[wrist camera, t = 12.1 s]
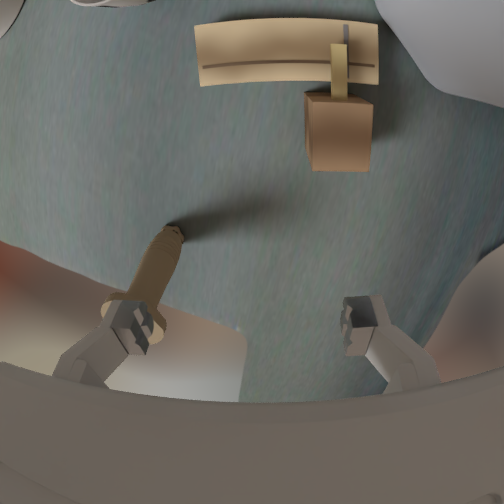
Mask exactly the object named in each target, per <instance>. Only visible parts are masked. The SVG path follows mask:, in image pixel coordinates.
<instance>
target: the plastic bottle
mask: <svg viewBox="0 0 504 504" xmlns="http://www.w3.org/2000/svg"><path fill="white" fill-rule="evenodd" d="M375 4H376V7H377V9H378V11H379V13H380V15H381V17H382V18H383V19H384V21H385V22H386V23H387V24H388V26H389V27H390V28H391V30H392V31H393V32H394V34H395V35H396V36H397V38H398V39H399V40H400V42H401V43H402V44H403V46H404V47H405V49H406V50H407V51H408V53H409V54H410V56H411V57H412V59H413V60H414V62H415V63H416V65H417V66H418V68H419V69H420V71H421V72H422V74H423V75H424V77H425V78H426V79H427V81H428V82H429V83H431V84H432V85H433V86H434V87H435V88H437V89H438V90H440V91H442V92H445V93H448V94H452V95H457V96H461V97H465V98H469V99H473V100H477V101H481V102H485V103H488V104H492V105H495V106H498V107H502V108H504V0H375Z"/></svg>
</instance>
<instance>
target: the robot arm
mask: <svg viewBox="0 0 504 504" xmlns="http://www.w3.org/2000/svg"><path fill="white" fill-rule="evenodd" d="M23 1H24V0H0V38H1V37H2V36H3V35H4V34H5V33H6V31H7V30H8V29H9V27H10V26H11V25H12V23H13V21H14V20H15V18H16V16H17V14H18V13H19V11H20V8H21V6H22V4H23ZM147 308H148V306H147V304H146V302H144V301H131V300H113V301H112V302H111V303H110V305H109V307H108V310H107V312H106V314H105V316H104V318H103V320H102V322H101V324H100V327H96V328H95V329H94V330H92V331H91V332H90V333H89V334H87V335H86V336H85V337H84V338H82V339H81V340H80V341H78V342H77V343H76V344H74V345H73V346H72V347H71V348H70V349H68V350H67V351H66V352H65V353H63V354H62V355H61V357H60V359H59V361H58V364H57V366H56V368H55V370H54V372H53V375H52V376H49V375H45V374H41V373H38V372H35V371H31V370H28V369H25V368H22V367H18V366H15V365H12V364H10V363H6V362H3V361H2V362H0V504H504V366H503V367H499V368H496V369H493V370H490V371H486V372H483V373H480V374H476V375H473V376H469V377H465V378H461V379H457V380H453V381H449V382H445V383H441V380H440V377H439V373H438V370H437V367H436V364H435V361H434V358H433V357H432V356H431V355H429V354H428V353H427V352H426V351H425V350H424V349H423V348H421V347H420V346H419V345H418V344H417V343H415V342H414V341H413V340H412V339H411V338H410V337H408V336H407V335H406V334H405V333H404V332H403V331H401V330H400V329H399V328H398V327H397V326H395V325H391V322H390V319H389V316H388V313H387V310H386V307H385V304H384V301H383V298H382V296H381V295H369V296H355V297H345V298H344V300H343V308H344V310H343V311H342V312H341V317H340V326H341V333H342V335H343V336H344V341H343V345H344V351H345V356H356V355H365V356H366V357H367V358H368V359H369V361H370V362H371V363H372V364H373V365H374V366H375V368H376V369H377V370H378V371H379V372H380V373H381V375H382V376H383V377H384V378H385V379H386V380H387V382H388V383H389V384H388V386H387V387H386V389H385V391H384V392H383V394H380V395H372V396H364V397H356V398H346V399H335V400H323V401H306V402H278V403H246V402H216V401H200V400H187V399H176V398H167V397H158V396H150V395H143V394H136V393H129V392H123V391H117V390H111V389H109V387H108V386H107V385H106V384H105V383H104V381H105V380H106V379H107V378H108V377H109V376H110V375H111V373H113V372H114V370H115V369H116V368H117V367H118V366H119V365H120V364H121V363H122V362H123V361H124V360H125V359H126V358H127V356H128V354H131V355H146V352H147V349H148V346H149V341H148V338H149V337H150V336H151V335H152V333H153V330H154V321H153V317H152V315H151V314H150V313H149V312H148V311H147Z"/></svg>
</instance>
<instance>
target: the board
mask: <svg viewBox="0 0 504 504" xmlns="http://www.w3.org/2000/svg"><path fill="white" fill-rule="evenodd" d="M194 29H195V39H196V49H197V59H198V69H199V78H200V87H201V86H209V85H219V84H230V83H242V82H259V81H331V62H330V44H346V45H347V82H351V83H363V84H374V85H378V77H379V56H378V24H371V23H363V22H355V21H345V20H333V19H315V18H267V19H249V20H237V21H227V22H218V23H210V24H203V25H197V26H194Z"/></svg>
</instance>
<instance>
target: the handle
mask: <svg viewBox="0 0 504 504" xmlns="http://www.w3.org/2000/svg"><path fill="white" fill-rule="evenodd" d="M183 241H184V235H182V234H181V232H180V229H179V228H178V227H177V226H174V227H171V226H168V225H166V226H164V227H163V228H162V229H161V232H160V233H158V234H157V235H156V236H155V238H154V239H153V240H152V241H151V243H150V244H149V246H148V247H147V249H146V251H145V253H144V255H143V257H142V259H141V262H140V264H139V266H138V269H137V271H136V274H135V276H134V278H133V281H132V283H131V285H130V287H129V290H128V292H127V293H126V294H125V293H119V292H115V293H112V294H110V295H109V296H108V297H107V299H106V300H105V302H104V304H103V306H102V308H101V315H102V318H104V316H105V314H106V312H107V310H108V307H109V305H110V303H111V302H112V301H113V300H131V301H144V302H146V304H147V306H148V308H147V311H148V312H149V313H150V314H151V315H152V317H153V321H154V330H153V333H152V335H151V336H150V337H149V338H148V341H149V344H156V343H158V342H160V341H161V340H162V338H163V336H164V333H165V330H166V320H165V319H164V318H163V316H162V315H161V314H160V312H159V311H158V310H157V305H158V303H159V301H160V299H161V297H162V295H163V292H164V290H165V288H166V286H167V284H168V282H169V280H170V278H171V276H172V274H173V272H174V270H175V268H176V265H177V263H178V260H179V256H180V253H181V247H182V244H183Z"/></svg>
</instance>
